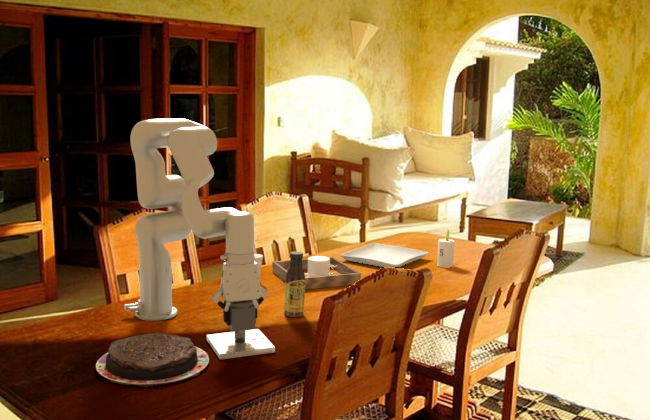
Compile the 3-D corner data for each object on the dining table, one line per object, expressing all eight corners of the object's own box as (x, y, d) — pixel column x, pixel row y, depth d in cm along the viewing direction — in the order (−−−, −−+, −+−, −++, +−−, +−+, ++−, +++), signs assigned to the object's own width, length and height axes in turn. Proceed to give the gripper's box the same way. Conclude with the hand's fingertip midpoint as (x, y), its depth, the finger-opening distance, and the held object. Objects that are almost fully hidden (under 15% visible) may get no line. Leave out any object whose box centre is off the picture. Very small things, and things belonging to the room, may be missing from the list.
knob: (231, 331, 187) (231, 303, 185) (225, 323, 193) (224, 296, 192) (256, 328, 189) (256, 301, 188) (249, 321, 196) (249, 294, 194)
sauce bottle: (289, 319, 215) (289, 256, 212) (280, 313, 220) (281, 251, 217) (308, 316, 218) (309, 254, 214) (299, 310, 223) (300, 249, 220)
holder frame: (295, 290, 245) (295, 279, 245) (272, 271, 269) (272, 261, 268) (360, 284, 255) (360, 273, 254) (332, 266, 279) (332, 256, 278)
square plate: (373, 250, 309) (374, 241, 309) (429, 260, 294) (430, 251, 293) (338, 262, 288) (338, 252, 287) (396, 273, 272) (396, 263, 271)
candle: (433, 266, 283) (435, 229, 280) (442, 263, 288) (444, 227, 285) (447, 269, 279) (449, 231, 276) (456, 266, 284) (458, 229, 281)
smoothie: (242, 282, 253) (242, 244, 251) (250, 278, 259) (250, 241, 257) (257, 285, 251) (258, 246, 249) (266, 280, 257) (266, 243, 254)
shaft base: (219, 359, 183) (219, 333, 181) (206, 340, 196) (206, 315, 195) (274, 352, 188) (275, 327, 187) (258, 333, 202) (258, 310, 201)
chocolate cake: (227, 374, 175) (227, 348, 174) (114, 399, 160) (113, 371, 159) (184, 339, 198) (184, 316, 197) (82, 358, 183) (81, 334, 182)
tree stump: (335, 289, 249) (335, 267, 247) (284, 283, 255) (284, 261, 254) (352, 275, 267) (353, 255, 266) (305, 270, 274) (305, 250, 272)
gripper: (211, 263, 181) (212, 330, 184) (275, 258, 188) (275, 323, 191) (204, 257, 188) (205, 322, 191) (266, 252, 195) (266, 315, 198)
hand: (240, 322), depth 191 cm, fingers closed on knob, 6 cm apart
